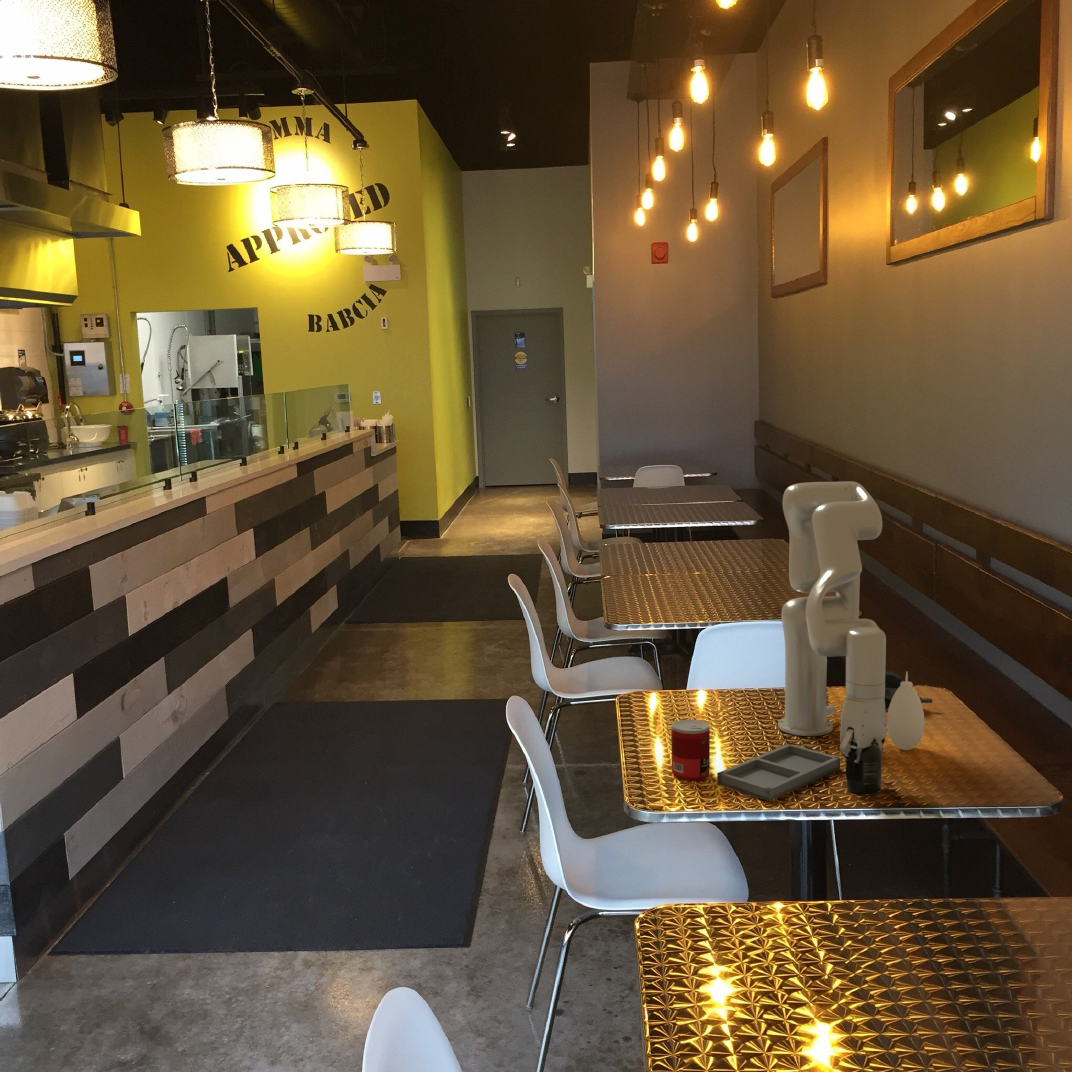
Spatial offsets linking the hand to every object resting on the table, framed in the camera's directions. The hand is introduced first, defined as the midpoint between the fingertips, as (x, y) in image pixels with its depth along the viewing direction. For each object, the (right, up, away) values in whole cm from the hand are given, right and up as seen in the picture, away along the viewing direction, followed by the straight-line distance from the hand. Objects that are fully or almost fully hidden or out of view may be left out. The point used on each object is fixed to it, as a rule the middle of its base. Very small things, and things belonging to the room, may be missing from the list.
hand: (863, 774), depth 214 cm
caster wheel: (+25, +5, +52) cm, 57 cm away
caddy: (-15, -2, +8) cm, 17 cm away
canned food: (-33, -3, +11) cm, 35 cm away
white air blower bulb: (+16, 0, +23) cm, 28 cm away
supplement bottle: (0, -3, +1) cm, 3 cm away
